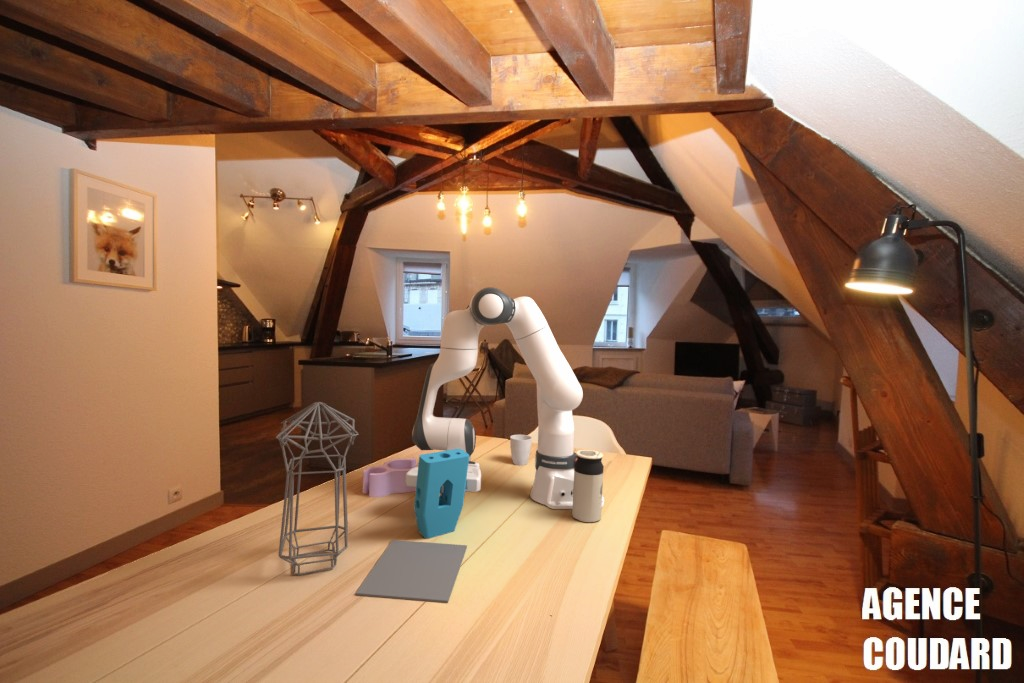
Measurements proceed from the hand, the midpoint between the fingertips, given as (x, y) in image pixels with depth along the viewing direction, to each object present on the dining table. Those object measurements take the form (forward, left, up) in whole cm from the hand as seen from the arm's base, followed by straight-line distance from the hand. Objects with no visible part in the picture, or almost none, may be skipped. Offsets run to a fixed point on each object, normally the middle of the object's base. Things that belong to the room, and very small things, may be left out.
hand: (437, 489), depth 119 cm
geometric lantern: (+22, +20, -11) cm, 31 cm away
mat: (0, +19, -10) cm, 21 cm away
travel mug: (-39, -14, -11) cm, 43 cm away
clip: (+20, -27, -11) cm, 35 cm away
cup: (-18, -59, -11) cm, 63 cm away
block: (0, +1, -10) cm, 10 cm away
